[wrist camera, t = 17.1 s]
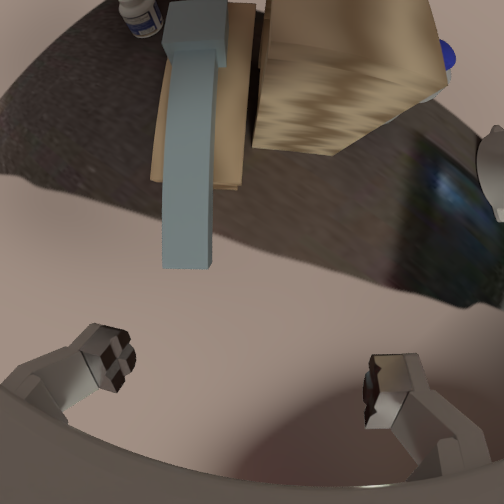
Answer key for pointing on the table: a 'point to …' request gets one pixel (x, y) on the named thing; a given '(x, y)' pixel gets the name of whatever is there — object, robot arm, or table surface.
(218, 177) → the bench
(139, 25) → the pill bottle
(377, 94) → the tall stand
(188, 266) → the rail
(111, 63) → the table surface
